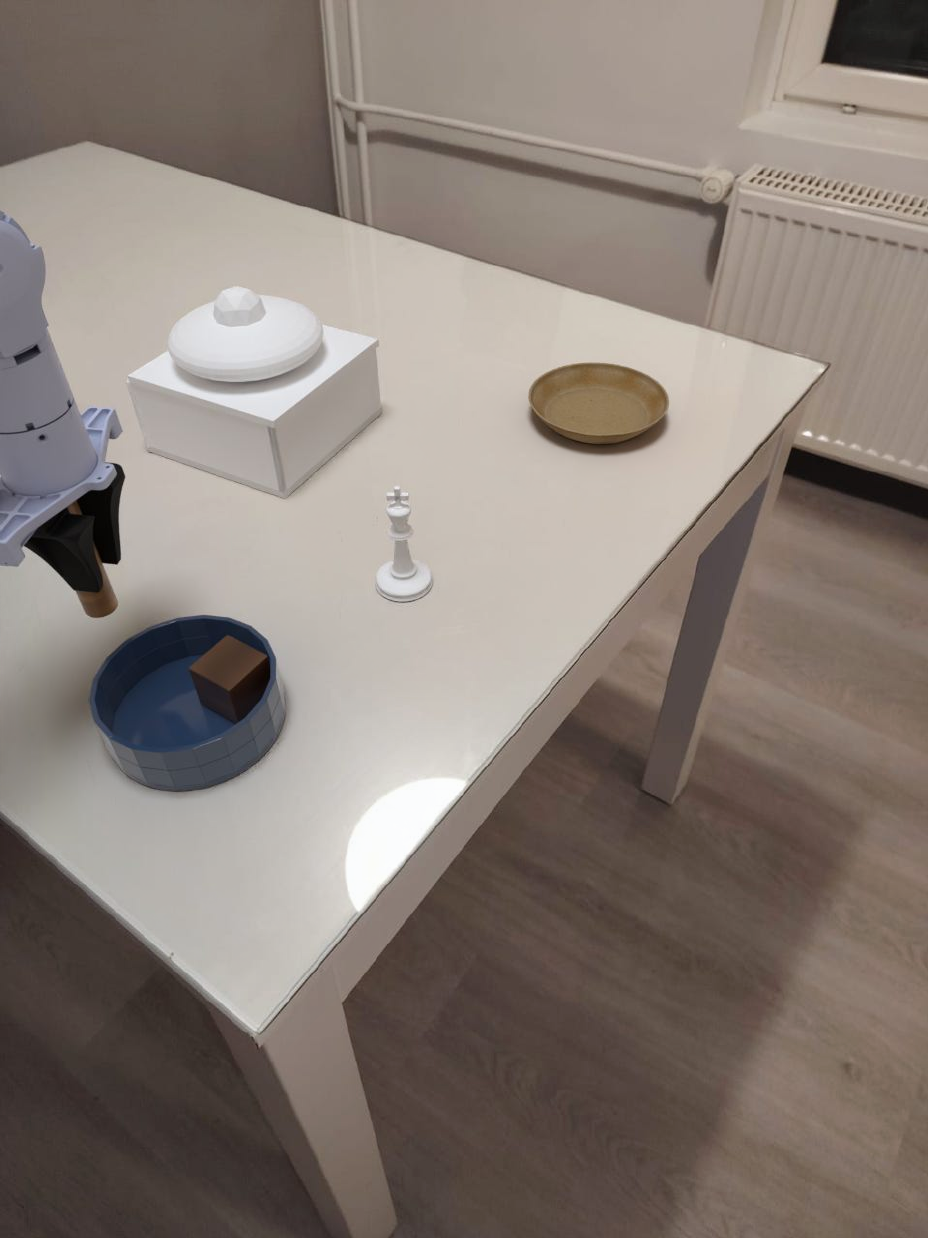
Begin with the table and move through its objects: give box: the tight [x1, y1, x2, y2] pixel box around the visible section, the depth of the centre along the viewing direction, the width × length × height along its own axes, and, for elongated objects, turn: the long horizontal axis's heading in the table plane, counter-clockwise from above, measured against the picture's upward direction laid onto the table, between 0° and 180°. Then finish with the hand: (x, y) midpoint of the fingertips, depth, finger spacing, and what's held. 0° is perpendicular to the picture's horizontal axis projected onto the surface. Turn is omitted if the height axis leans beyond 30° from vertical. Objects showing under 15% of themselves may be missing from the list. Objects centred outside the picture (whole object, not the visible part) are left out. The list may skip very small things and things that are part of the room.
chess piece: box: [374, 485, 434, 603], centre depth 71 cm, size 5×5×10 cm
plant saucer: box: [527, 362, 670, 445], centre depth 92 cm, size 15×15×3 cm
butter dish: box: [125, 285, 382, 500], centre depth 86 cm, size 18×18×16 cm
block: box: [189, 635, 270, 724], centre depth 63 cm, size 4×4×4 cm
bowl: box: [88, 614, 286, 792], centre depth 63 cm, size 13×13×4 cm
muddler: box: [64, 500, 119, 619], centre depth 60 cm, size 2×2×11 cm
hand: (97, 574), depth 62 cm, fingers closed on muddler, 2 cm apart
